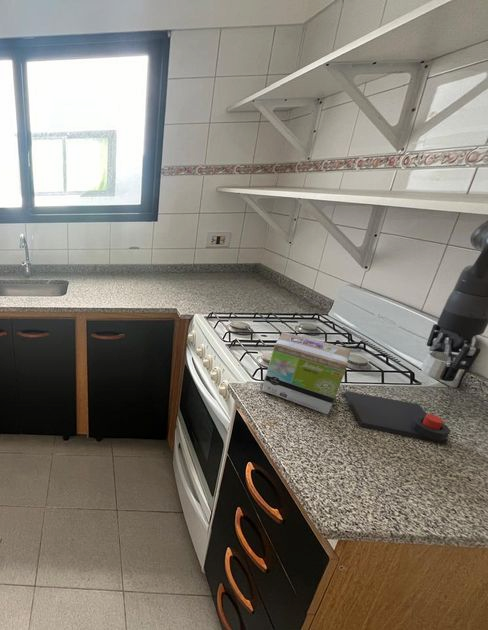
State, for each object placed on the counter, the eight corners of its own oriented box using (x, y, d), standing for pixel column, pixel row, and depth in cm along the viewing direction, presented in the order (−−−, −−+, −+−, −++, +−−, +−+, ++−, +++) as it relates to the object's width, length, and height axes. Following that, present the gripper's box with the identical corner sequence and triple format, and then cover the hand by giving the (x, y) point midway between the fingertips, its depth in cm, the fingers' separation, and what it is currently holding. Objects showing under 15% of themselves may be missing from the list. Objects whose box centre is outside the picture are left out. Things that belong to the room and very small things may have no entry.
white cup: (446, 370, 87) (455, 353, 85) (461, 384, 82) (470, 366, 80) (415, 366, 89) (422, 349, 87) (427, 379, 84) (435, 361, 82)
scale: (418, 408, 85) (423, 398, 84) (450, 447, 74) (456, 436, 72) (344, 394, 91) (347, 385, 90) (362, 428, 79) (366, 418, 78)
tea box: (260, 392, 92) (273, 343, 86) (269, 376, 99) (281, 329, 93) (329, 416, 83) (348, 363, 77) (333, 396, 90) (351, 346, 84)
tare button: (435, 423, 77) (439, 416, 76) (442, 431, 74) (446, 424, 73) (419, 420, 78) (423, 412, 77) (425, 428, 75) (429, 420, 74)
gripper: (512, 325, 71) (476, 392, 78) (470, 301, 84) (442, 361, 90) (464, 320, 74) (433, 385, 81) (430, 298, 86) (405, 356, 93)
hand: (438, 372), depth 85 cm, fingers closed on white cup, 6 cm apart
